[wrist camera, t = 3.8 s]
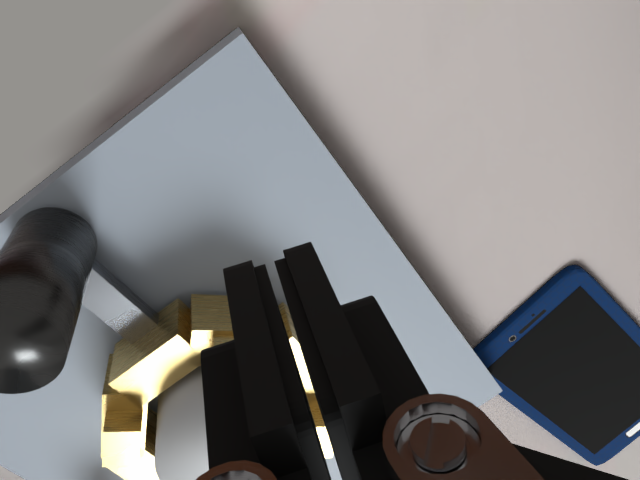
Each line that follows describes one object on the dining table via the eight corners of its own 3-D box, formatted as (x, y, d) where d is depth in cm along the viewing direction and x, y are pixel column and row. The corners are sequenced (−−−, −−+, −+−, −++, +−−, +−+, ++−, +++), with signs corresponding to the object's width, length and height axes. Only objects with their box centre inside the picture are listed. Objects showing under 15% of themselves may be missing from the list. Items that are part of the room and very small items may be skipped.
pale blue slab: (238, 26, 18) (257, 56, 14) (488, 370, 28) (549, 457, 23) (-155, 336, 20) (-258, 457, 16) (206, 556, 30) (210, 671, 25)
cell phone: (591, 460, 34) (598, 470, 34) (454, 357, 28) (461, 367, 27) (689, 381, 33) (699, 390, 32) (569, 253, 26) (579, 261, 26)
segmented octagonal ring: (361, 384, 24) (405, 496, 19) (206, 488, 25) (212, 621, 20) (125, 135, 17) (102, 212, 12) (-74, 292, 18) (-169, 420, 13)
